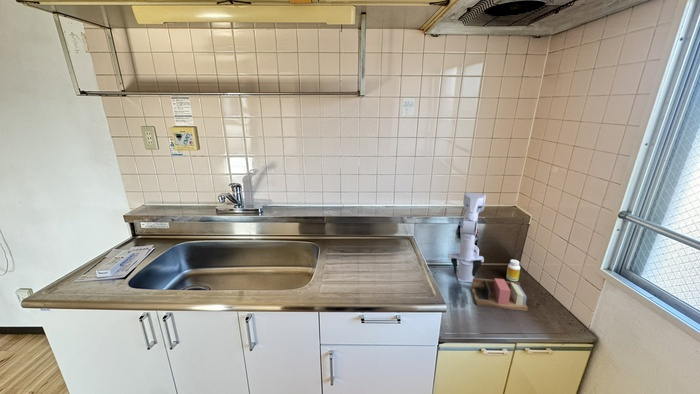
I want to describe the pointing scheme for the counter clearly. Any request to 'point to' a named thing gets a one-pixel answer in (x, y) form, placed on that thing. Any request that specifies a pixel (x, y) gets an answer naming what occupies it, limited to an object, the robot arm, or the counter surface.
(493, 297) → the shelf
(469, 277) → the robot arm
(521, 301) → the books
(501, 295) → the tall pink block
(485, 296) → the bookend
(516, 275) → the supplement bottle
